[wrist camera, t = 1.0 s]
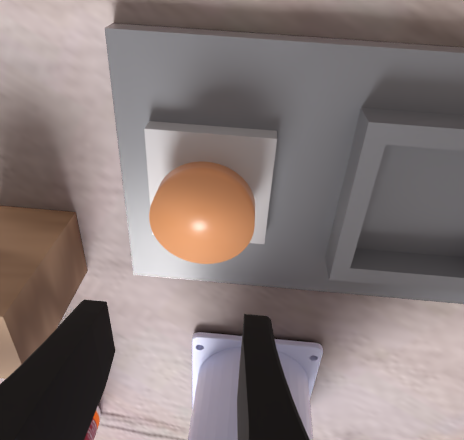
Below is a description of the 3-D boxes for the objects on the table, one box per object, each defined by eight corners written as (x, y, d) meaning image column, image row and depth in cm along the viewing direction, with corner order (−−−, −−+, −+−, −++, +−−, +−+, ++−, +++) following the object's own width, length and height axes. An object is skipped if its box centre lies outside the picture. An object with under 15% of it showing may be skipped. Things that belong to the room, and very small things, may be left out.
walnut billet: (87, 270, 23) (28, 380, 18) (18, 264, 23) (-64, 371, 18) (75, 211, 21) (2, 316, 15) (-2, 205, 21) (-102, 307, 15)
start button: (251, 249, 18) (250, 268, 17) (158, 241, 18) (152, 259, 17) (259, 165, 15) (259, 181, 14) (153, 157, 15) (145, 172, 14)
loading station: (471, 291, 22) (492, 328, 20) (138, 262, 23) (125, 295, 20) (596, 56, 15) (648, 75, 13) (113, 23, 16) (89, 36, 14)
